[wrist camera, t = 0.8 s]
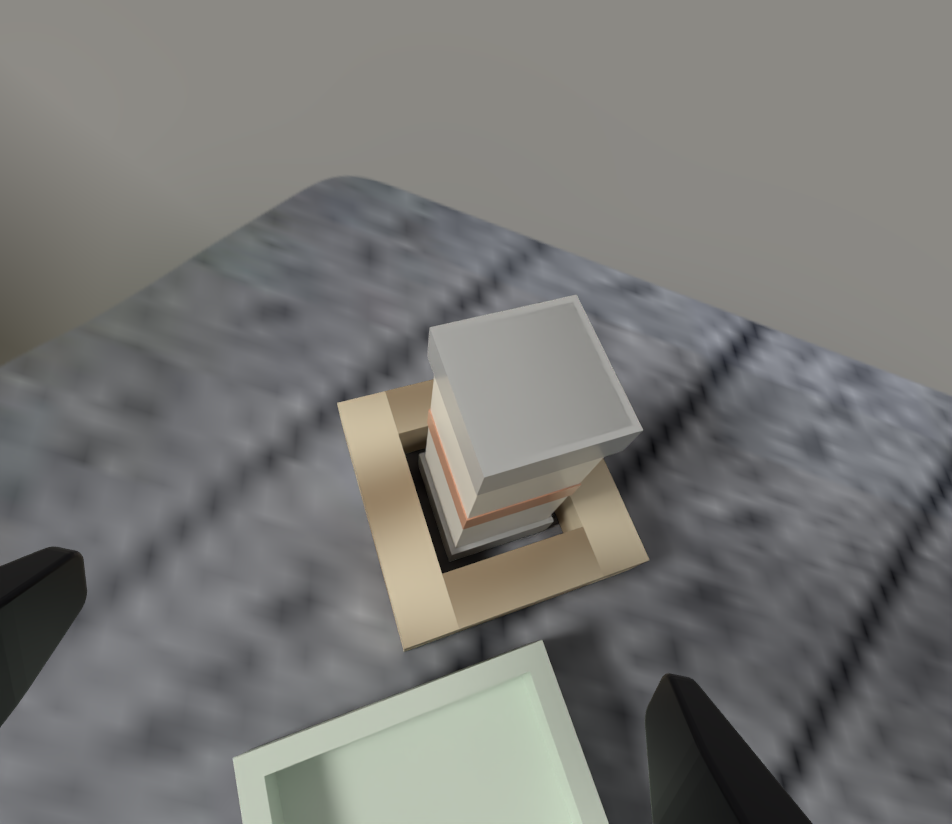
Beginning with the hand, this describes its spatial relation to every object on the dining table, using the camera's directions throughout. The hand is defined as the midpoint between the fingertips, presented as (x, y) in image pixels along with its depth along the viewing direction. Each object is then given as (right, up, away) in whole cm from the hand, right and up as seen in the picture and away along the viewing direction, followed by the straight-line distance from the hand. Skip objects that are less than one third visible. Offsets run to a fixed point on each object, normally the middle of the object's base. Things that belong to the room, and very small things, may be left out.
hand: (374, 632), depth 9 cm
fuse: (+2, 0, +16) cm, 16 cm away
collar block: (+2, 0, +16) cm, 16 cm away
